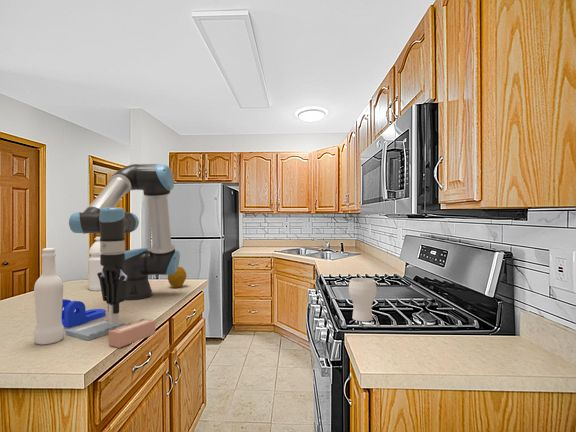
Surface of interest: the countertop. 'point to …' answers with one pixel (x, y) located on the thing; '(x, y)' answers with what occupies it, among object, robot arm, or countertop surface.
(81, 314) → the bracket
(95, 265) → the bottle
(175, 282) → the apple
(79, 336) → the ticket
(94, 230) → the robot arm
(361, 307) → the cup
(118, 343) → the stub
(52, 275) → the bottle
